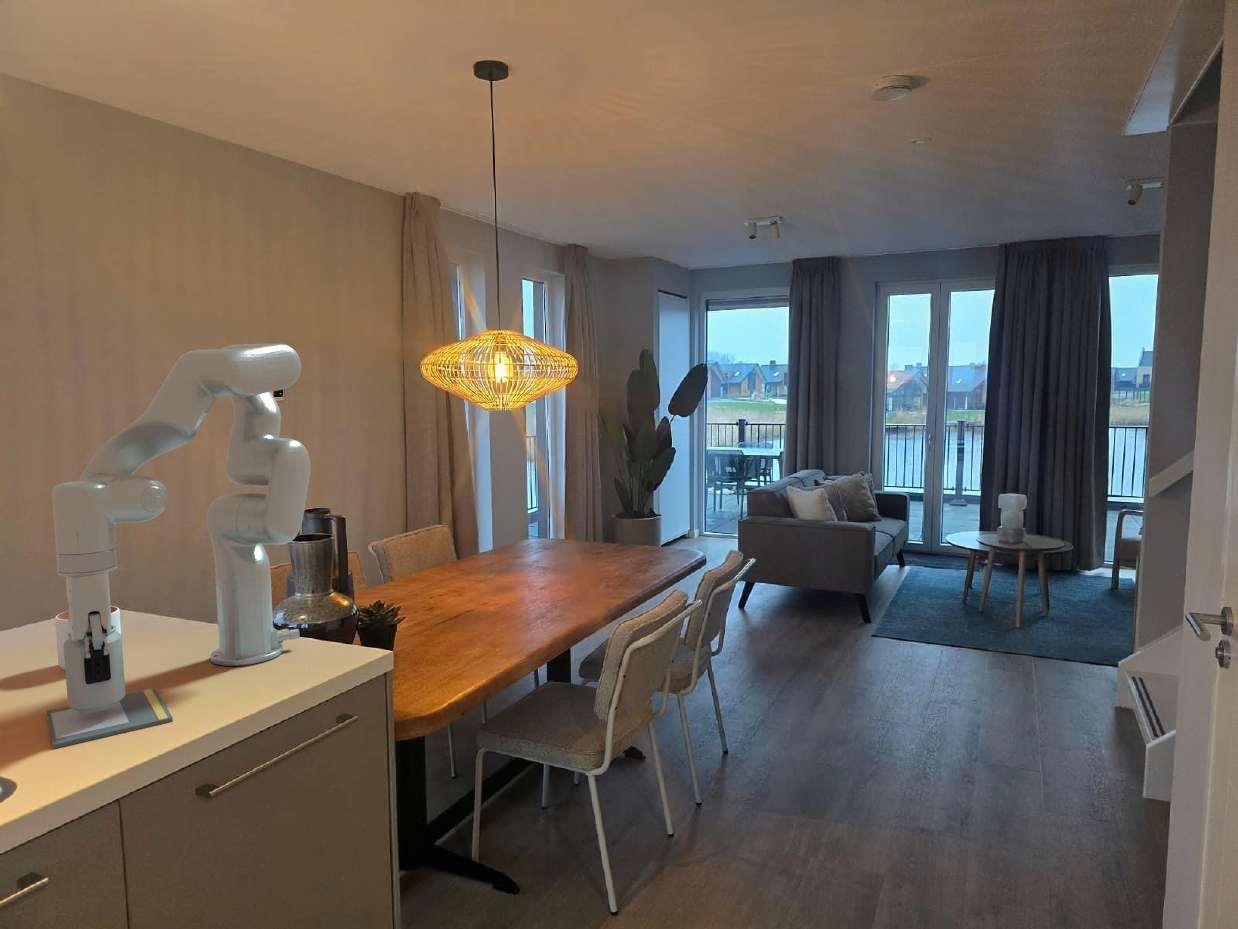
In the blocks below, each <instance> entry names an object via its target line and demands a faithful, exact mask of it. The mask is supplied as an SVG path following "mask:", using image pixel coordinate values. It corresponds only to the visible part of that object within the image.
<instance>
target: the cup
mask: <svg viewBox="0 0 1238 929" xmlns="http://www.w3.org/2000/svg"><path fill="white" fill-rule="evenodd" d="M54 620H55V621H54V622H55V636H56V646H57V647H56V649H57V661H58V662H57V664H58V665H59V667H60V668H61V669H62V670H64V671H65V659H64V646H63V645H64V643H65V642H66V641H67V639H68V638H69V636H68V633H69V629H68V610H67V611H66V610H65V611H64V612H61V613H59V614H57V615H56V616H55V617H54ZM111 625H113V626H115V627H116V630H115V631H117V632H118V633H119V634H121V635H122V629H121V628H122V627H121V612H120V608H119V607H117V606H114V605H111Z"/></svg>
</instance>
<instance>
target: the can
mask: <svg viewBox="0 0 1238 929" xmlns="http://www.w3.org/2000/svg"><path fill="white" fill-rule="evenodd" d="M115 630H116V627H115V626H113V625H111V634H110V635H109V636H108V637H106V640H107V648H108V653H109V655H110V670H111V679H110V680H108V681H103V682H98V683H93V684H86V682H85V670H84V658H86V654H85V646H84V638H83V639H79V640H78V642H74V641H73V640H72V639H71V635H70V633H68V636H69V638H68V639H67V641H66V642H65V643H64V645H63V646H64V659H65V670H64V671H65V682H66V683H65V684H66V695H67V706H69V707H70V708H72V709H74V710H76V711H77V712H95V711H100V710H104V709H107V708H110V707H113V706H115V705H117V704H118V703H119V702H120V700H121V699H122V698H123V697H124V696H125V695H126V694H127V693H126V680H125V668H124V654H123V641H122V640H123V638H122V633H121V634H119V633H118V632H117V631H115ZM106 635H107V634H106ZM89 636H92V634H89V635H87V637H89ZM90 643H92V642H89V645H90Z"/></svg>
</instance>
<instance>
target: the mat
mask: <svg viewBox="0 0 1238 929" xmlns="http://www.w3.org/2000/svg"><path fill="white" fill-rule="evenodd" d="M125 694H126V695H125V696H124V697H123V698H122V699H121V700H120V702H119V703H118V704H117V705H115V706H113V707H110V708H107V709H104V710H100V711H95V712H77V711H76V710H74V709H72V708H70V707H69V706H68V705H67V706H64V707H63V706H62V707H58V708H53V709H48V710H45V712H46V718H47V724H48V729H49V734H50V738H51V739H50V740H51V744H52V749H59V748H63V747H67V746H71V745H76V744H80V743H85V742H88V741H93V740H97V739H101V738H106V737H110V736H115V735H119V734H123V733H127V732H131V731H135V730H137V731H138V730H140V729H145V728H149V727H153V726H157V725H162V724H166V723H170V722H173V721H174V720H173V716H172V715H171V713H170V711H169V710H168V707H167V706H166V704H165V702H164V701H163V699H162V697H161V695H160V694H159V692H158V691H157V689H156V688H147V689H142V690H140V691H135V692H131V693H130V692H129V693H125Z"/></svg>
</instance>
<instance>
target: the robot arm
mask: <svg viewBox="0 0 1238 929" xmlns="http://www.w3.org/2000/svg"><path fill="white" fill-rule="evenodd" d="M301 372H302V362H301V358H300V356H299V354H298V352H296V350H295V349H294V348H292V347H291V346H290V345H287V344H284V343H249V344H248V343H244V344H242V343H241V344H233V345H228V346H224V347H222V348H219V349H218V348H217V349H214V348H213V349H195V350H191V351H188V352H184V353H183V354H182V355H181V356H179V358H178V359H177V360H176V361H175V363H174V365H173V366H172V367H171V369H170V371H169V373H168V374H167V375H166V378H164V381H163V383H162V384H161V386H160V387H159V389H158V391H157V392H156V394H155V395H154V397H153V398H152V400H151V402H150V403H149V405H148V407H147V409H146V410H145V411H144V413H142V415H140V417H139V418H136V419H135V420H134V421H133V422H131V423H130V424H128V425H127V426H125V427H124V428H122V429H121V430H120V431H119V432H117V434H115V435H114V436H112V437H111V438H110V439H108V440H107V441H106V442H104V444H103V445H102V446H101V447H100V448H98V450H97V451H96V452H95V453H94V455H93V456H92V457H91V459H90V460H89V462H87V465H86V466H85V468H84V470H83V471H82V473H81V475H80V476H79V478H78V480H77V481H76V480H74V481H68V482H61V483H58V484H57V485H55V486H54V487H53V489H52V493H51V499H52V500H51V501H52V514H53V515H52V516H53V527H54V528H53V529H54V540H55V551H56V554H55V555H56V557H55V558H56V567H57V575H58V577H65V581H66V582H65V590H66V591H65V592H66V606H67V609H66V610H67V611H68V629H69V633H70V635H71V639H72V640H73V641H74V642H78V640H79V639H83V638H84V646H85V654H86V658H84V670H85V682H86V684H93V683H98V682H103V681H108V680H110V679H111V670H110V655H109V653H108V648H107V640H106V637H108V636H109V635H110V634H111V606H112V605H111V592H110V588H111V587H110V577H109V573H110V572H113V571H116V570H117V569H118V564H117V563H118V562H117V550H116V547H117V546H116V536H115V533H116V532H115V525H117V524H125V523H129V524H130V523H144V522H149V521H151V520H154V519H156V518H158V517H159V516H160V515H161V514H163V513H164V512H165V511H166V509H167V507H168V505H169V500H170V497H169V496H170V495H169V491H168V489H167V488H166V486H165V484H163V483H162V482H161V481H159V480H158V479H156V478H154V477H152V476H147V475H140V474H138V475H137V474H136V475H135V474H134V473H135V472H136V471H137V470H139V469H140V467H141V468H142V466H144V464H147V462H149V461H151V460H153V459H155V458H157V457H160V456H161V455H163V454H166V453H169V452H170V451H175V450H176V449H179V448H181V447H182V446H184V445H186V444H188V443H190V442H191V441H193V440H194V439H195V438H196V437H197V435H198V433H199V431H200V430H201V428H202V425H203V424H204V422H205V421H206V419H207V416H208V415H209V413H210V412H211V410H212V407H213V406H214V404H215V402H216V400H218V399H219V398H229V399H230V402H231V405H232V410H233V418H232V426H231V432H230V438H229V442H228V446H227V448H228V449H227V451H226V452H227V453H226V459H225V475H226V477H227V478H228V480H229V481H230V482H231V483H232V484H234V485H237V486H240V487H242V486H243V487H249V488H267V490H266V493H258V492H256V493H255V492H254V493H253V492H252V493H250V492H232V493H227V494H223V495H221V496H218V497H217V498H216V499H214V500H213V501H212V502H211V503H210V505H209V506H208V509H207V512H206V519H205V520H206V528H207V532H208V536H209V539H210V542H211V546H212V547H211V548H212V552H213V560H214V570H215V571H214V572H215V589H216V590H215V592H216V595H215V596H216V608H217V609H216V610H217V626H218V627H217V629H218V632H217V633H218V645H219V646H218V648H216V649H214V650H213V651H212V652H211V654H210V662H211V663H213V664H215V665H218V666H224V667H225V666H226V667H229V666H230V667H231V666H232V667H235V666H246V665H252V664H253V665H254V664H258V663H263V662H265V661H270V660H272V659H274V658H277V657H278V656H280V655H281V654H282V653H283V651H284V648H283V644H282V643H283V642H284V641H291V640H297V639H300V635H301V634H300V630H299V628H294V629H289V628H283V629H279V630H278V629H276V628H275V627H274V622H273V620H274V619H273V618H274V616H273V600H272V597H273V596H272V578H271V577H272V576H271V564H270V563H271V562H270V558H269V556H268V554H267V551H266V548H265V547H264V546H265V545H269V546H270V545H271V546H282V545H286V544H288V543H290V542H292V541H293V540H294V539H296V537H297V535H298V534H299V533H300V530H301V527H302V524H303V521H304V520H303V519H304V515H305V509H306V504H307V503H306V502H307V496H308V491H309V490H308V489H309V484H310V478H311V469H312V467H311V466H312V464H311V459H310V454H309V452H308V449H307V448H306V447H305V446H304V444H302V443H301V442H300V441H298V440H296V439H292V438H289V437H280V432H281V424H282V412H281V410H280V406H279V405H278V402H277V400H276V399H275V397H274V395H273V393H271V392H275V391H276V392H277V391H282V390H285V389H288V388H290V387H292V386H293V385H294V384H296V382H297V381H298V380H299V377H300V376H301V374H302V373H301ZM263 545H264V546H263ZM89 634H92V636H89V637H87V635H89ZM106 634H107V635H106ZM89 642H92V643H90V645H89Z"/></svg>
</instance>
